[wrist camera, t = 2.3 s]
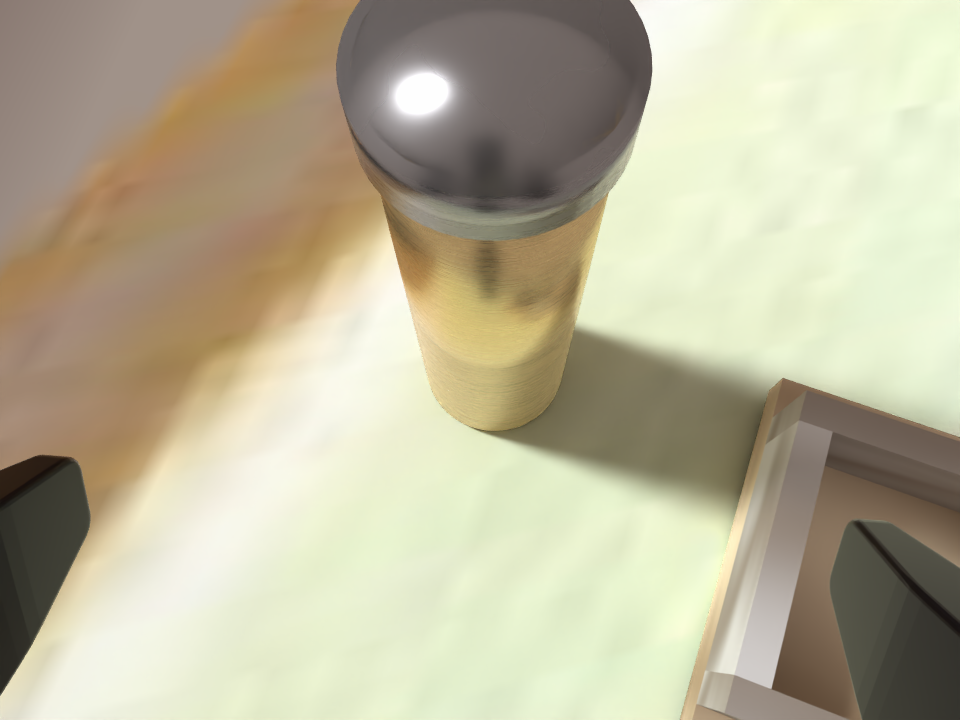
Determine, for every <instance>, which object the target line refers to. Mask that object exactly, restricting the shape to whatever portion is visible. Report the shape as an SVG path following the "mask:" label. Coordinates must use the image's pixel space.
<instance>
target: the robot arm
mask: <svg viewBox="0 0 960 720" xmlns="http://www.w3.org/2000/svg"><path fill="white" fill-rule="evenodd" d="M89 527H90V509H89V504H88V500H87V495H86V490H85V485H84V480H83V476H82V471H81V468H80V465H79V463H78V462H77V461H76V460H75V459H73V458H72V457H64V456H52V455H38V456H35V457H32V458H30V459H27V460H25V461H22V462H20V463H17V464H15V465H12V466H10V467H7V468H5V469H2V470H0V696H1V694H2V692H3V691H4V689H5V688H6V686H7V684H8V683H9V681H10V680H11V678H12V677H13V675H14V673H15V672H16V670H17V669H18V667H19V665H20V664H21V662H22V660H23V659H24V657H25V655H26V654H27V652H28V650H29V649H30V647H31V645H32V644H33V642H34V640H35V638H36V636H37V634H38V632H39V631H40V629H41V627H42V625H43V623H44V621H45V619H46V617H47V615H48V613H49V611H50V609H51V607H52V605H53V603H54V601H55V599H56V597H57V595H58V593H59V591H60V589H61V586H62V584H63V582H64V580H65V578H66V576H67V574H68V572H69V570H70V568H71V566H72V564H73V562H74V560H75V558H76V556H77V554H78V552H79V550H80V548H81V546H82V544H83V542H84V540H85V538H86V536H87V533H88V530H89ZM830 595H831V600H832V604H833V608H834V612H835V616H836V620H837V624H838V628H839V632H840V636H841V640H842V644H843V648H844V653H845V657H846V661H847V665H848V669H849V673H850V677H851V681H852V685H853V689H854V693H855V697H856V701H857V704H858V708H859V712H860V715H861V719H862V720H960V567H958V566H957V565H955V564H954V563H952V562H950V561H949V560H947V559H946V558H944V557H943V556H941V555H940V554H938V553H937V552H935V551H934V550H932V549H931V548H929V547H928V546H926V545H924V544H923V543H921V542H920V541H918V540H917V539H915V538H914V537H912V536H911V535H909V534H908V533H906V532H905V531H903V530H901V529H900V528H898V527H897V526H895V525H894V524H892V523H890V522H887V521H882V520H868V519H853V520H851V521H850V522H848V524H847V525H846V527H845V529H844V532H843V535H842V538H841V542H840V545H839V548H838V552H837V555H836V558H835V562H834V565H833V568H832V571H831V576H830Z"/></svg>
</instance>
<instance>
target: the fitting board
mask: <svg viewBox="0 0 960 720" xmlns="http://www.w3.org/2000/svg"><path fill="white" fill-rule="evenodd" d="M853 519H868V520H882V521H887V522H890V523H892V524H894V525H895V526H897V527H898V528H900V529H901V530H903V531H905V532H906V533H908V534H909V535H911V536H912V537H914V538H915V539H917V540H918V541H920V542H921V543H923V544H924V545H926V546H928V547H929V548H931V549H932V550H934V551H935V552H937V553H938V554H940V555H941V556H943V557H944V558H946V559H947V560H949V561H950V562H952V563H954V564H955V565H957V566H958V567H960V437H957V436H954V435H951V434H948V433H945V432H942V431H939V430H936V429H933V428H930V427H927V426H924V425H921V424H918V423H915V422H912V421H909V420H906V419H903V418H900V417H897V416H894V415H892V414H889V413H886V412H883V411H880V410H877V409H874V408H871V407H868V406H865V405H862V404H859V403H856V402H853V401H850V400H847V399H844V398H841V397H838V396H835V395H832V394H829V393H826V392H823V391H820V390H817V389H814V388H811V387H808V386H805V385H802V384H799V383H796V382H793V381H790V380H787V379H784V378H783V379H781V380H780V381H779V382H778V383H777V384H776V385H775V386H774V387H773V388H772V389H770V390H769V392H768V396H767V399H766V403H765V407H764V411H763V414H762V418H761V422H760V425H759V429H758V433H757V436H756V440H755V444H754V447H753V451H752V455H751V459H750V462H749V466H748V470H747V473H746V477H745V481H744V484H743V488H742V492H741V496H740V499H739V503H738V507H737V510H736V514H735V518H734V521H733V525H732V529H731V532H730V536H729V540H728V544H727V547H726V551H725V555H724V558H723V562H722V566H721V569H720V573H719V577H718V581H717V584H716V588H715V592H714V595H713V599H712V603H711V606H710V610H709V614H708V617H707V621H706V625H705V629H704V632H703V636H702V640H701V643H700V647H699V651H698V654H697V658H696V662H695V666H694V669H693V673H692V677H691V680H690V684H689V688H688V691H687V695H686V699H685V703H684V706H683V710H682V714H681V717H680V720H862V719H861V715H860V712H859V708H858V704H857V701H856V697H855V693H854V689H853V685H852V681H851V677H850V673H849V669H848V665H847V661H846V657H845V653H844V648H843V644H842V640H841V636H840V632H839V628H838V624H837V620H836V616H835V612H834V608H833V604H832V600H831V595H830V576H831V571H832V568H833V565H834V562H835V558H836V555H837V552H838V548H839V545H840V542H841V538H842V535H843V532H844V529H845V527H846V525H847V524H848V522H850V521H851V520H853Z"/></svg>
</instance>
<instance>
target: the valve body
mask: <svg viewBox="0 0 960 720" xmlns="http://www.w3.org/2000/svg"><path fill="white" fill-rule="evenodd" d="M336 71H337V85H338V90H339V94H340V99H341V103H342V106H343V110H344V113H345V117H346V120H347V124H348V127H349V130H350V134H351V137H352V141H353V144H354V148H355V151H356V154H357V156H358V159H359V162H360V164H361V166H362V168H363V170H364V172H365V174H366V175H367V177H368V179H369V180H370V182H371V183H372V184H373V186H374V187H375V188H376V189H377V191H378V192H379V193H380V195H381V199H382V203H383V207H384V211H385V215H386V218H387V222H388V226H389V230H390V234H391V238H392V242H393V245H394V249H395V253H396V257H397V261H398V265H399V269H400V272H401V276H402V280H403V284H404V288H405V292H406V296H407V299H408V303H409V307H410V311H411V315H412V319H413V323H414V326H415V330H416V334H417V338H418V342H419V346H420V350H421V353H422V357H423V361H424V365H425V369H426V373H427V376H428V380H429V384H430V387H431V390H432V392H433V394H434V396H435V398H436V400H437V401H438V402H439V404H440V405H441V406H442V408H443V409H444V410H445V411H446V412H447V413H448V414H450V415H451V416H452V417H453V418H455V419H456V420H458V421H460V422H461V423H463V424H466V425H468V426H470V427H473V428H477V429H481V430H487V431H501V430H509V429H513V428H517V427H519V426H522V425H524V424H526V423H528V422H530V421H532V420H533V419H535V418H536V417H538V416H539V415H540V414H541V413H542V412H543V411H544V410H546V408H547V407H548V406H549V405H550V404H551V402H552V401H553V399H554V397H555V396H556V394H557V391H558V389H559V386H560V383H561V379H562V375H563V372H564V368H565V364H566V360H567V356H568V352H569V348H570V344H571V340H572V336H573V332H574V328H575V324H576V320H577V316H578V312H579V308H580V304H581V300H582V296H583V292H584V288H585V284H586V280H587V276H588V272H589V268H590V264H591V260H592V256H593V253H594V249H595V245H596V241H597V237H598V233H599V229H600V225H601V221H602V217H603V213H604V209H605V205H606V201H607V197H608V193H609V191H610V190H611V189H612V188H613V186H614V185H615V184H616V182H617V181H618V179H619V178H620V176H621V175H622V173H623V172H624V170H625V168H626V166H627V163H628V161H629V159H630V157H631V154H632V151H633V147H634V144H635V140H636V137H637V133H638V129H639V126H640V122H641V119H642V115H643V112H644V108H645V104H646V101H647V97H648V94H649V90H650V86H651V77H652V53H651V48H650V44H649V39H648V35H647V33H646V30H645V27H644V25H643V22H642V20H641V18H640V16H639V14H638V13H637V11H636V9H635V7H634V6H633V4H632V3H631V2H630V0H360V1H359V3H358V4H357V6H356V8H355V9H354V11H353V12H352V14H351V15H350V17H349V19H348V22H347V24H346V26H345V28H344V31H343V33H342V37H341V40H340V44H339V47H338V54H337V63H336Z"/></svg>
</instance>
